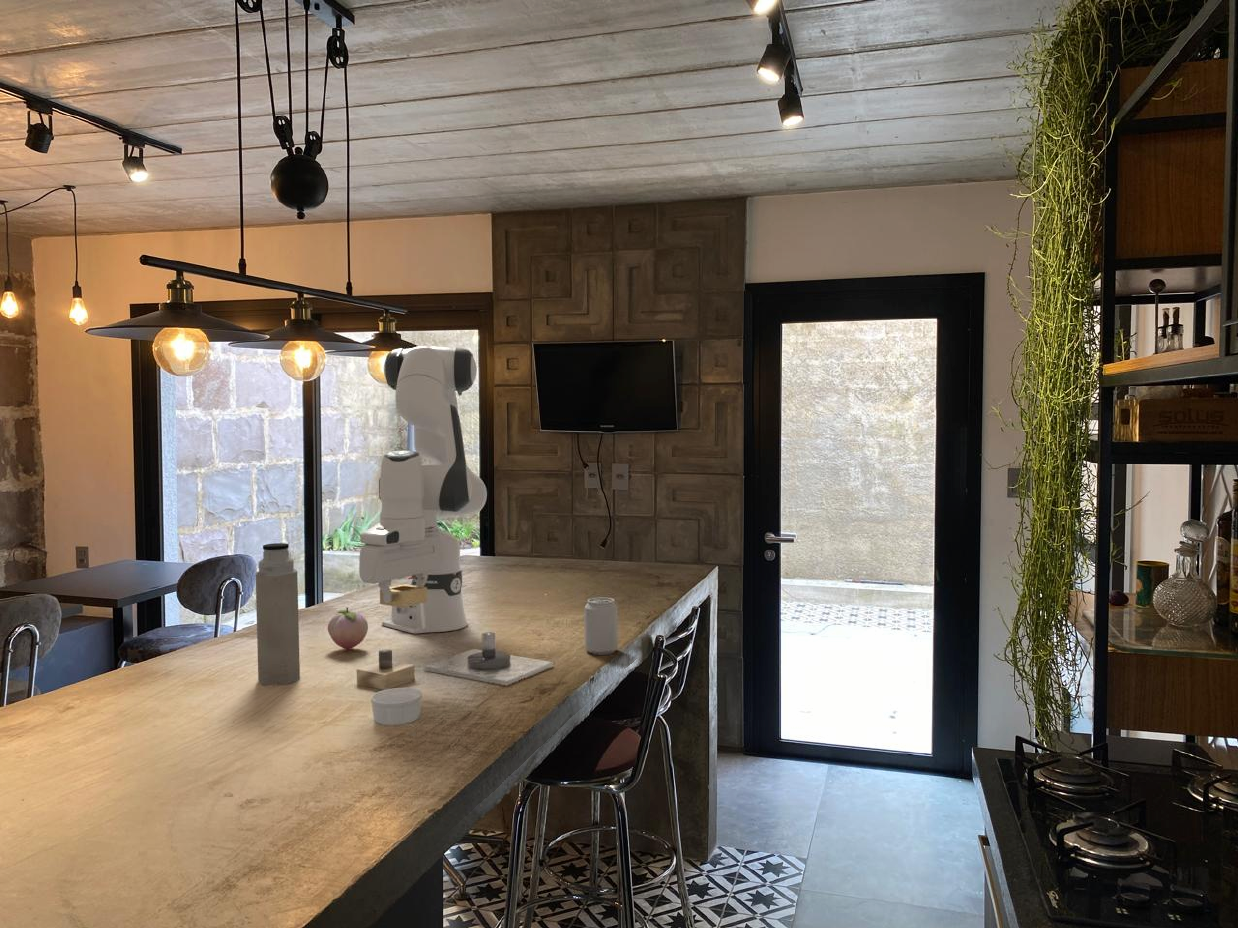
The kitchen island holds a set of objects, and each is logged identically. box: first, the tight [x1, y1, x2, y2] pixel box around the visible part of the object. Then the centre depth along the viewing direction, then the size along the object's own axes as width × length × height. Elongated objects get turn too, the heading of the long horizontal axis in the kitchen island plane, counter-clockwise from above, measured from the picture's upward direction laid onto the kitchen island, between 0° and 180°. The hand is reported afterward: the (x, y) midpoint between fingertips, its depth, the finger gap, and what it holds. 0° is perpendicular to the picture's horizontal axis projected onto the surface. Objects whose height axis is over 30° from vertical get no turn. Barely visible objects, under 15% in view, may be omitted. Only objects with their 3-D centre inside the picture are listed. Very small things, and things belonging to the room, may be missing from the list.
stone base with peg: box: [423, 631, 554, 687], centre depth 192 cm, size 22×16×8 cm
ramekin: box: [370, 687, 423, 726], centre depth 160 cm, size 9×9×4 cm
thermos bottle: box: [255, 542, 301, 686], centre depth 184 cm, size 8×8×28 cm
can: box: [584, 596, 619, 656], centre depth 205 cm, size 8×8×12 cm
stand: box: [356, 648, 416, 690], centre depth 182 cm, size 8×8×6 cm
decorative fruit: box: [327, 606, 369, 651], centre depth 208 cm, size 9×8×10 cm
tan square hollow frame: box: [379, 583, 427, 608], centre depth 184 cm, size 7×7×3 cm
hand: (404, 598), depth 184 cm, fingers closed on tan square hollow frame, 7 cm apart
